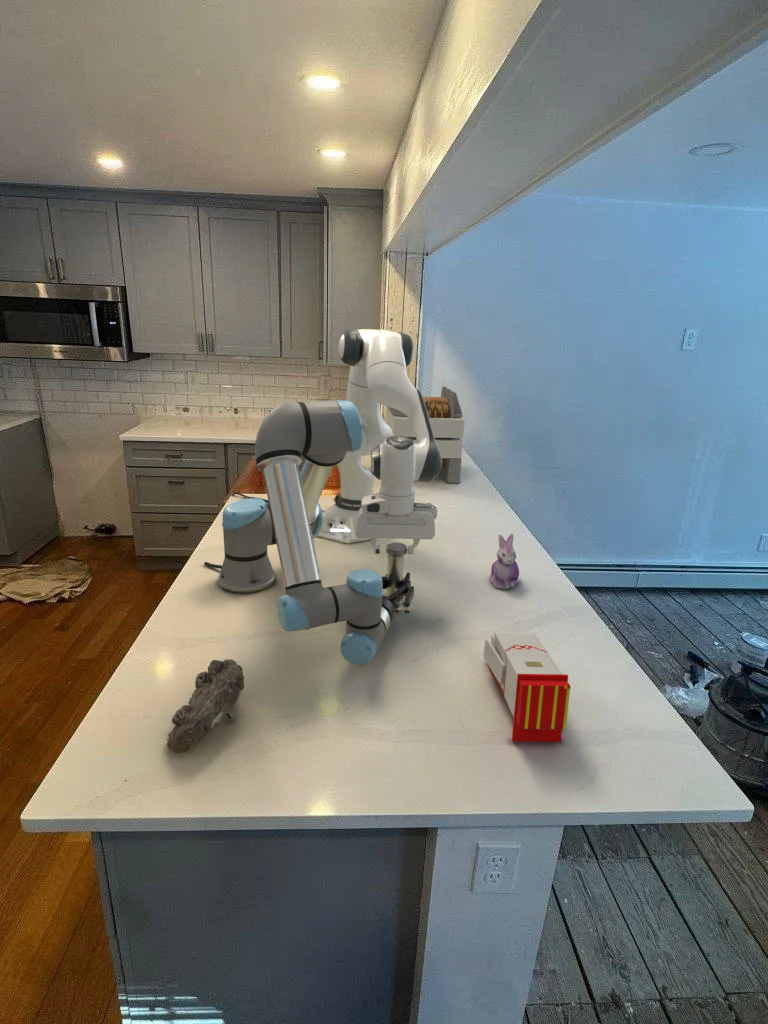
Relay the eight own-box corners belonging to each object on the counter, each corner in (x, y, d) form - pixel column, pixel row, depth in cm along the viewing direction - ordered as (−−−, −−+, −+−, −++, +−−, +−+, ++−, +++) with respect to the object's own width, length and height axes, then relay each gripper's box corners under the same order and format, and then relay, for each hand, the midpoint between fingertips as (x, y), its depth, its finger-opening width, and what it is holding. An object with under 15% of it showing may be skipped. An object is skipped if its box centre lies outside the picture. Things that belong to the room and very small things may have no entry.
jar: (395, 612, 148) (398, 553, 143) (382, 606, 151) (384, 548, 145) (404, 606, 152) (408, 548, 146) (391, 600, 154) (394, 543, 148)
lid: (410, 551, 147) (411, 545, 146) (399, 558, 142) (399, 552, 142) (393, 546, 149) (393, 540, 149) (381, 552, 145) (382, 546, 145)
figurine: (502, 593, 161) (508, 544, 156) (480, 578, 169) (486, 531, 164) (528, 587, 165) (535, 539, 160) (505, 572, 173) (511, 527, 168)
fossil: (192, 660, 117) (244, 628, 112) (224, 691, 120) (276, 661, 115) (142, 746, 98) (202, 712, 93) (182, 779, 101) (242, 748, 96)
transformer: (382, 463, 289) (386, 382, 275) (445, 464, 293) (451, 384, 279) (390, 482, 257) (394, 392, 243) (460, 483, 261) (468, 394, 247)
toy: (532, 616, 130) (580, 681, 101) (527, 670, 133) (572, 749, 103) (479, 615, 129) (512, 680, 100) (475, 669, 132) (506, 748, 103)
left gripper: (340, 624, 136) (368, 582, 157) (410, 637, 132) (429, 593, 153) (340, 597, 133) (369, 558, 155) (412, 609, 129) (431, 567, 151)
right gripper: (436, 499, 145) (432, 549, 149) (356, 497, 143) (354, 547, 148) (439, 507, 139) (435, 559, 143) (356, 505, 138) (354, 557, 142)
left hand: (399, 575), depth 154 cm, fingers closed on jar, 4 cm apart
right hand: (393, 553), depth 146 cm, fingers open, 7 cm apart
